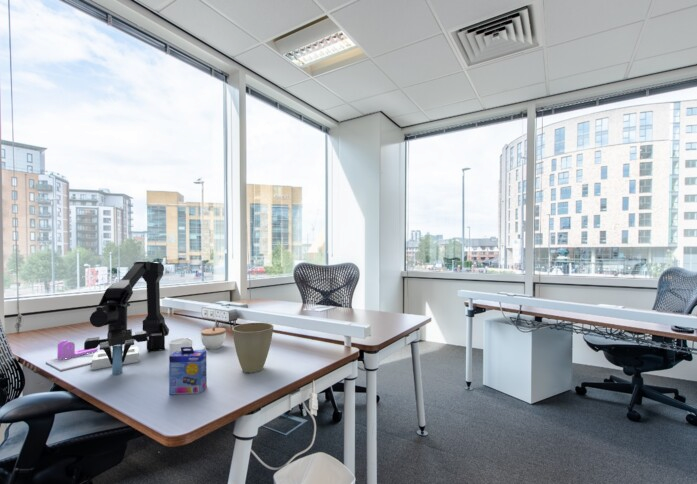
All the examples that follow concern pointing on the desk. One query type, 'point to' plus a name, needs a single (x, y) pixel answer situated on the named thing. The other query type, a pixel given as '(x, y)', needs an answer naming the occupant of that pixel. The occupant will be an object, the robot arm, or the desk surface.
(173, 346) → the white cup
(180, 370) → the ink cartridge box
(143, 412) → the desk surface
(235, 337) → the plant pot
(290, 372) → the desk surface
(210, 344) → the lidded jar
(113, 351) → the peg
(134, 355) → the hole block
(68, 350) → the bracket
